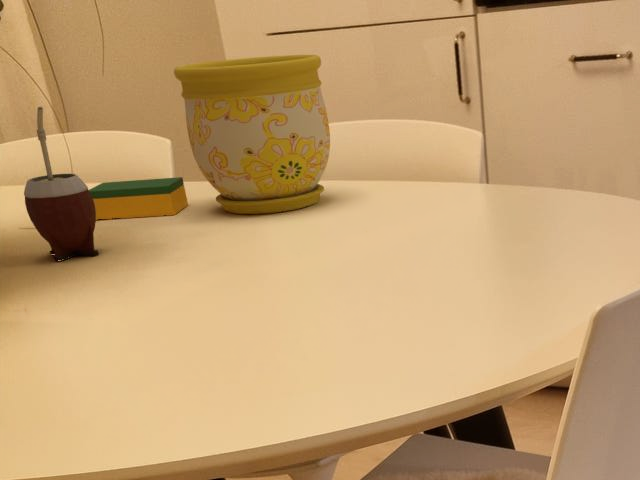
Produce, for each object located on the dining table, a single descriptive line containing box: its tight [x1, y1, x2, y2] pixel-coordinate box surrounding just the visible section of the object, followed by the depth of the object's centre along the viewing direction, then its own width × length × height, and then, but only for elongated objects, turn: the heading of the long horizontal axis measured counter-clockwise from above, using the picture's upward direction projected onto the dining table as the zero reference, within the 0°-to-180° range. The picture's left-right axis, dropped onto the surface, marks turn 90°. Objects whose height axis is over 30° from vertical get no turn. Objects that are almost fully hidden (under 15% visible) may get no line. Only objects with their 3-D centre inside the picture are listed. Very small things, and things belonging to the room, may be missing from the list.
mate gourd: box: [23, 106, 99, 262], centre depth 102 cm, size 8×8×15 cm
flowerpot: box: [173, 54, 331, 215], centre depth 121 cm, size 18×18×16 cm
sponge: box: [88, 176, 189, 221], centre depth 126 cm, size 11×7×4 cm, turn 90°
